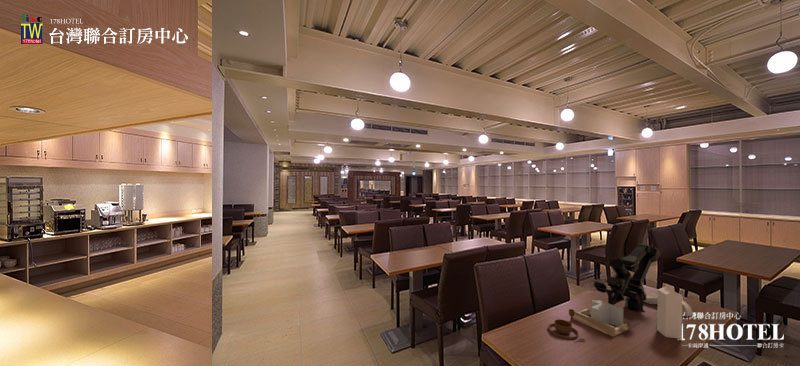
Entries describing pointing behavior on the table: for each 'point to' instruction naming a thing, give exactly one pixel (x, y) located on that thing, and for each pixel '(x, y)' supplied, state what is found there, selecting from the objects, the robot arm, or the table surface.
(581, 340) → the brown cup and saucer
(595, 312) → the t block
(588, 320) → the birch bay
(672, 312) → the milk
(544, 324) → the table surface
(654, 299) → the spoon rest
